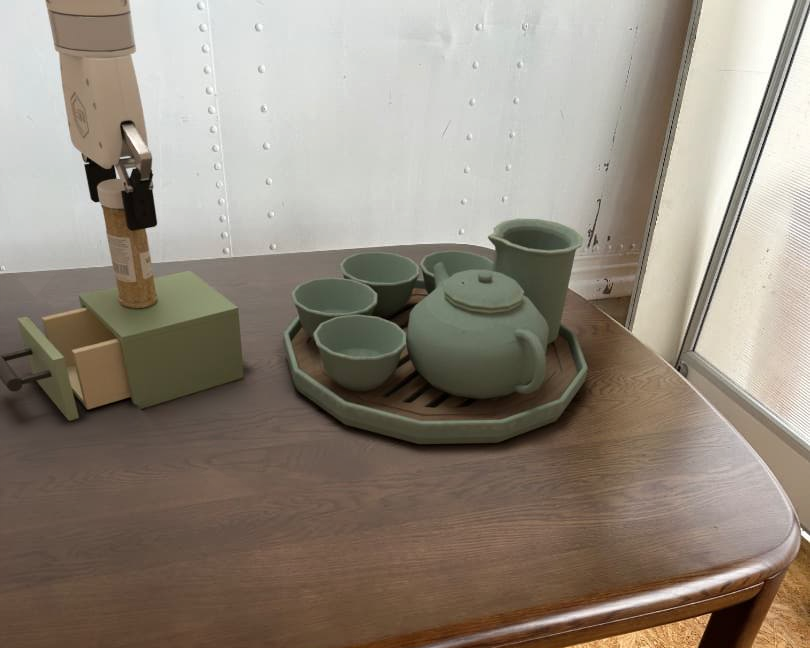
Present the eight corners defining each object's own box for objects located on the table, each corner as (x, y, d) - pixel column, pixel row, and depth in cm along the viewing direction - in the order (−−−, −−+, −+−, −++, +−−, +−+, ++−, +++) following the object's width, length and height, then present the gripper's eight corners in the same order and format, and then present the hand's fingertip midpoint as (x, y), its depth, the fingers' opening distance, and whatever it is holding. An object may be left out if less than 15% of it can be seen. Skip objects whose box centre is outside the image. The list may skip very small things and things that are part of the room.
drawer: (25, 434, 87) (6, 371, 82) (-8, 388, 94) (-28, 328, 88) (178, 388, 96) (169, 329, 91) (138, 350, 103) (128, 293, 98)
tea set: (395, 279, 127) (401, 170, 116) (626, 359, 111) (658, 243, 100) (219, 373, 101) (205, 246, 90) (487, 495, 86) (510, 359, 75)
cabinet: (135, 411, 94) (121, 337, 87) (94, 366, 101) (78, 294, 94) (244, 377, 101) (238, 307, 94) (198, 338, 108) (189, 270, 102)
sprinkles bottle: (165, 303, 94) (148, 185, 85) (130, 313, 92) (109, 193, 83) (145, 290, 96) (127, 174, 88) (111, 299, 94) (88, 181, 85)
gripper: (22, 18, 79) (60, 195, 90) (90, 53, 69) (123, 246, 80) (95, 15, 83) (123, 185, 94) (169, 48, 73) (190, 233, 84)
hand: (123, 213), depth 87 cm, fingers open, 9 cm apart
